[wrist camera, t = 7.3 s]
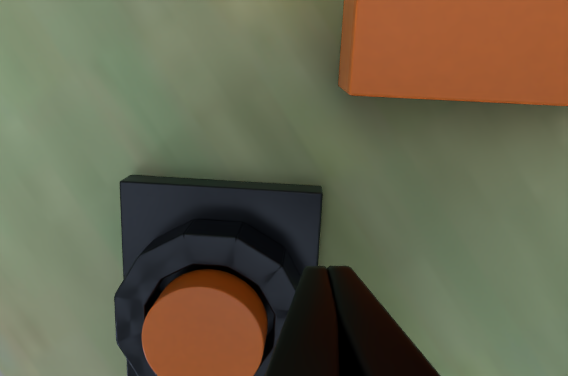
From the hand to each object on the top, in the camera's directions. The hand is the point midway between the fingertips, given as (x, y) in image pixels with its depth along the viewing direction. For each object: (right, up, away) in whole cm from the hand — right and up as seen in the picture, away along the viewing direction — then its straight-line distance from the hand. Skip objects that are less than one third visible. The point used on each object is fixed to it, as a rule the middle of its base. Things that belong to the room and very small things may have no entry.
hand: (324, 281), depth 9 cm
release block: (-3, -3, +12) cm, 13 cm away
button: (-4, -3, +10) cm, 11 cm away
